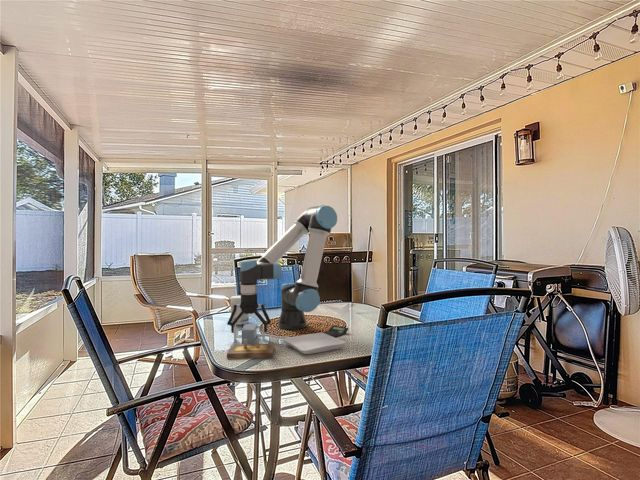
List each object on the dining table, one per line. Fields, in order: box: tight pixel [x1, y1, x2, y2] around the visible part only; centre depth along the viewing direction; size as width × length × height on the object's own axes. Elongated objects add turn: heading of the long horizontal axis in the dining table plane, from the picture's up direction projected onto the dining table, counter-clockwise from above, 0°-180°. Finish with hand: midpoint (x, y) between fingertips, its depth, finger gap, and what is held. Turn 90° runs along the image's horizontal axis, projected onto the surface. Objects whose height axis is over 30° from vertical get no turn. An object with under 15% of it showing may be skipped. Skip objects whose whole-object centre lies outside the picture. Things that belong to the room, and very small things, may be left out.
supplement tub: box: [230, 294, 250, 326], centre depth 208 cm, size 10×10×15 cm
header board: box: [226, 338, 275, 359], centre depth 156 cm, size 18×12×6 cm, turn 94°
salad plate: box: [282, 332, 347, 355], centre depth 164 cm, size 21×21×3 cm
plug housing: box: [241, 323, 258, 344], centre depth 175 cm, size 12×6×6 cm, turn 4°
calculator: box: [322, 324, 349, 339], centre depth 184 cm, size 9×12×3 cm
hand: (249, 339), depth 175 cm, fingers open, 12 cm apart
